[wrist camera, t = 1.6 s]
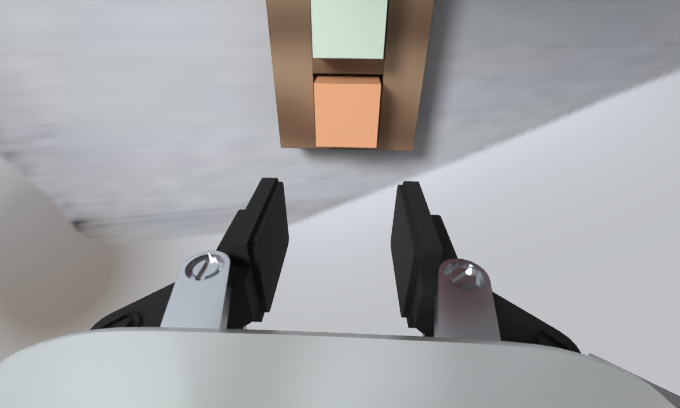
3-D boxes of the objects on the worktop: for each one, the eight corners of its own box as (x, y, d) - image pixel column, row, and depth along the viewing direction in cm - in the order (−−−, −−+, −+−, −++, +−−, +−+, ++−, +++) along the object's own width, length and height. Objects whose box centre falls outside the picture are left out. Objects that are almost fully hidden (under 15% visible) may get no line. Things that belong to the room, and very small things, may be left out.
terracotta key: (318, 74, 24) (313, 83, 21) (378, 75, 24) (381, 84, 21) (319, 132, 26) (316, 146, 24) (374, 133, 26) (376, 147, 24)
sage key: (315, -26, 20) (309, -30, 18) (385, -26, 20) (389, -30, 18) (317, 51, 23) (312, 57, 20) (380, 52, 23) (383, 58, 20)
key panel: (260, -175, 18) (245, -203, 16) (448, -177, 18) (463, -206, 16) (287, 135, 29) (280, 147, 26) (407, 137, 28) (412, 150, 26)
